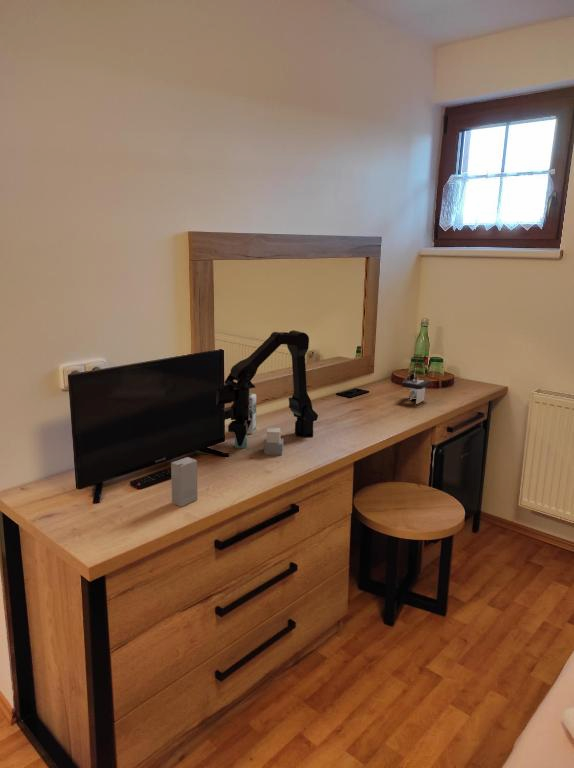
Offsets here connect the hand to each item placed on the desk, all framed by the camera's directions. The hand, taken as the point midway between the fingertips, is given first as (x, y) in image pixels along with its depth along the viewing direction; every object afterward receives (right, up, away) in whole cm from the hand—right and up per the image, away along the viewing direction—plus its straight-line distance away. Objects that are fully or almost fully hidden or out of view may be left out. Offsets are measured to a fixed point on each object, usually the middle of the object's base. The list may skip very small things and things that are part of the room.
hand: (240, 443), depth 204 cm
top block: (+12, +1, -4) cm, 12 cm away
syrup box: (+1, +3, +17) cm, 17 cm away
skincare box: (-12, -12, -44) cm, 47 cm away
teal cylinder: (0, -1, 0) cm, 1 cm away
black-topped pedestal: (+75, +12, +65) cm, 100 cm away
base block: (+12, -3, -3) cm, 13 cm away
